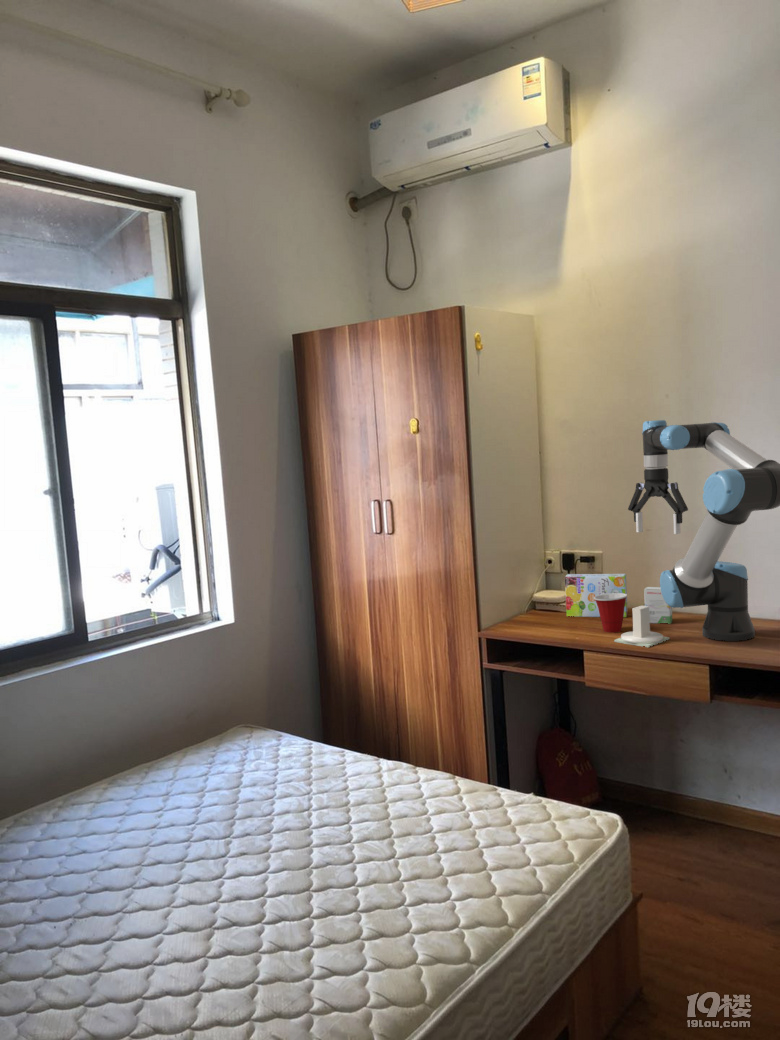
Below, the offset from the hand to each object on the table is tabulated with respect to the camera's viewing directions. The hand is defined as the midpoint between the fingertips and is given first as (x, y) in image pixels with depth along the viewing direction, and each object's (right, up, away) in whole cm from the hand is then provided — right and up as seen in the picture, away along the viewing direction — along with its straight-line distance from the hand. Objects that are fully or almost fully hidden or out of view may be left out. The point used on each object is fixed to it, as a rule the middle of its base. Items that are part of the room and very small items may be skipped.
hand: (658, 532), depth 267 cm
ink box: (+4, -31, +11) cm, 33 cm away
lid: (-9, -33, -12) cm, 36 cm away
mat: (-9, -34, -12) cm, 37 cm away
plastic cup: (-14, -33, +3) cm, 36 cm away
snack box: (-13, -31, +27) cm, 43 cm away
